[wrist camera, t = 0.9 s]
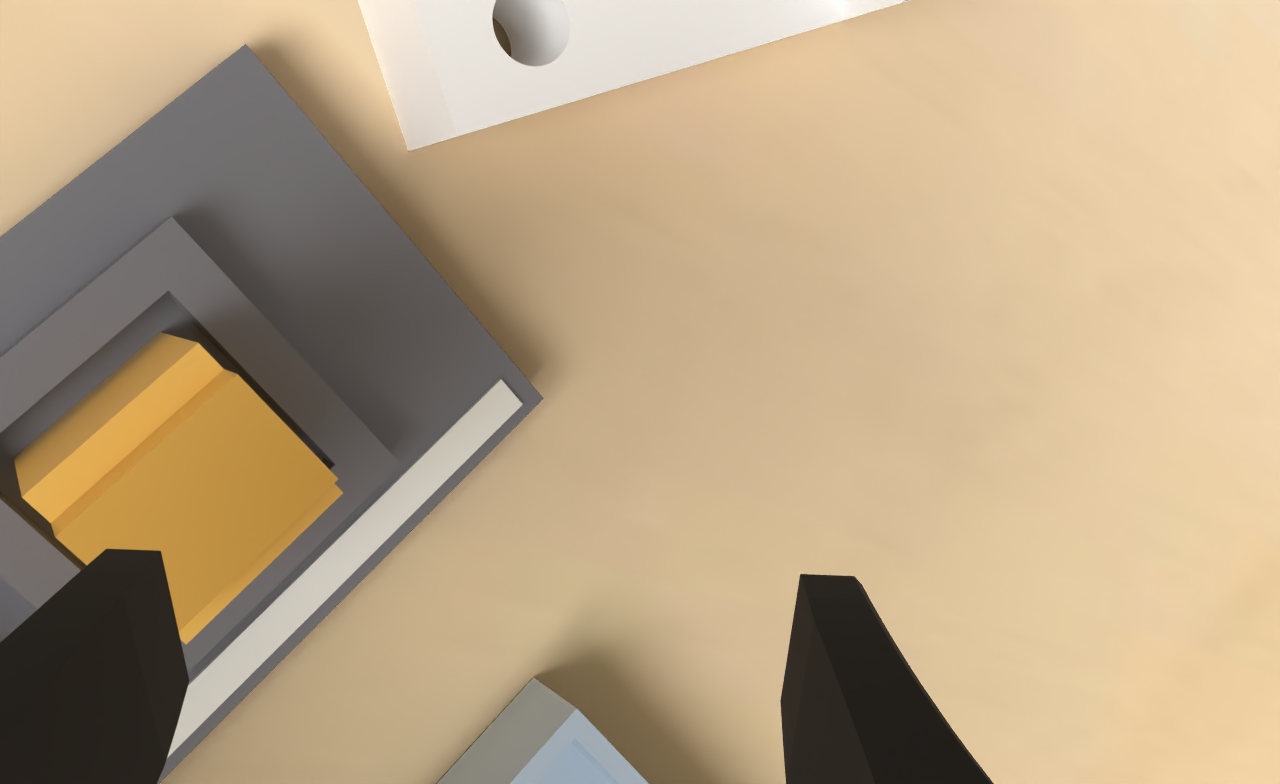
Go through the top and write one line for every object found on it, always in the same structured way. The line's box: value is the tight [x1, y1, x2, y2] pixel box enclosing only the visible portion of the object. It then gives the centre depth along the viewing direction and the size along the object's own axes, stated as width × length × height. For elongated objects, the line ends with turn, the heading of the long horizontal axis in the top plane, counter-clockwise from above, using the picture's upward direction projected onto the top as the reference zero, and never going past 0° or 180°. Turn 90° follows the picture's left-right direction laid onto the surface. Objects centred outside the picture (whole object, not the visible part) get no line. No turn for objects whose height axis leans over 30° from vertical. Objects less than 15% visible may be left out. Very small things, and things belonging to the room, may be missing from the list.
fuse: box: [13, 332, 343, 644], centre depth 22 cm, size 4×4×6 cm
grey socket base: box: [0, 44, 544, 784], centre depth 25 cm, size 14×10×2 cm
